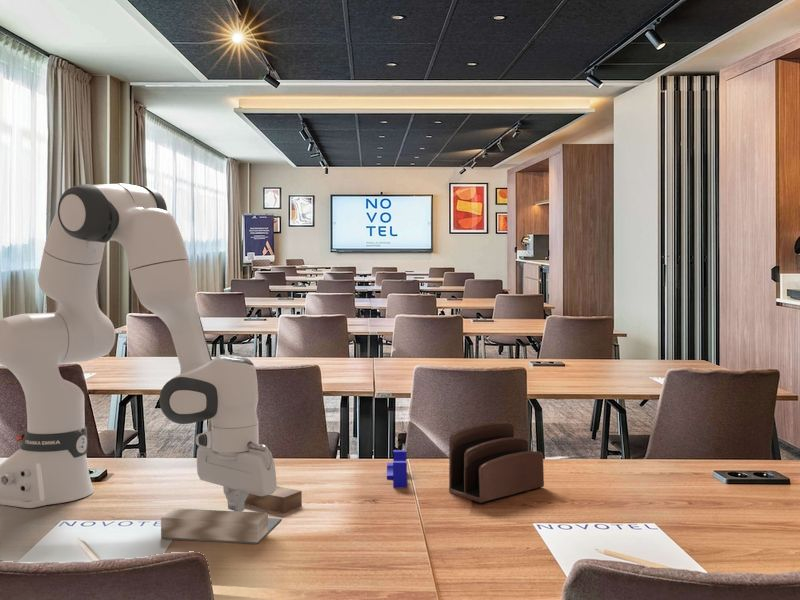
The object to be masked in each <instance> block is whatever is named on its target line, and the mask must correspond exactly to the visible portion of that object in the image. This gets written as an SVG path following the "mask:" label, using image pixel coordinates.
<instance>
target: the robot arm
mask: <svg viewBox="0 0 800 600" xmlns="http://www.w3.org/2000/svg"><path fill="white" fill-rule="evenodd" d="M48 229H49V230H48V233H47V236H46V238H45V242H44V243H45V244H44V248H43V252H42V256H41V262H40V266H39V272H38V276H37V281H38V282H37V283H38V286H39V289H40V290H41V291H42V293H43V294H44V295H45V296H47V297H48V298H50V299H51V300H53V301H55V302H56V303H58V305H57V309H56V311H54V312H36V313H35V312H33V313H19V314H15V315H11V316H7V317H3V318H0V365H1V366H3V367H5V368H6V369H7V370H9V371H10V372H11V373H12V374H13V375H14V376H15V378H16V379H17V381H18V382H19V384H20V386H21V388H22V390H23V394H24V399H25V406H26V407H25V408H26V419H27V427H26V428H27V430H26V431H24V432H23V433H22V434H19V435H15V438H17V439H16V440H15V442H19V441H21V443H20V445H19V448H18V450H16V451H15V452H14V453H13V454H12V455H10V456H9V457H8V458H6V459H5V460H4V461H3V462H2V463H0V505H2V506H9V507H10V506H11V507H18V508H24V509H33V508H39V507H42V506H47V505H55V504H56V505H57V504H62V503H68V502H73V501H77V500H79V499H80V500H81V499H82V498H83V499H84V498H86V497H88V496H90V495H91V494H93V493H94V492H95V489H94V485H93V483H92V479H91V475H90V471H89V466H88V465H89V464H88V459H87V457H88V456H87V451H88V450H87V449H88V427H86V424H85V422H86V420H85V419H86V418H85V416H86V415H85V412H86V411H85V394H84V392H83V390H82V389H81V388H80V387H79V386H78V385H77V384H75V383H73V382H71V381H68V379H67V380H66V379H64V377H62V375H61V373H60V369H59V365H60V364H71V363H80V362H81V363H82V362H83V363H84V362H88V361H92V360H96V359H99V358H102V357H104V356H108V354H109V353H110V352H111V351H112V349H113V347H114V346H115V342H116V329H115V327H114V323H113V322H112V320H111V319H110V318H109V317H108V316H107V315H106V314H105V313H104V312H103V311H102V310H101V308H100V306H99V304H98V299H97V286H98V281H99V276H100V275H99V274H100V270H101V266H102V262H103V256H104V251H105V247H106V243H108V242H110V241H114V242H115V241H116V242H117V243H118V244H120V246H122V247H123V249H124V252H125V255H126V259H127V265H128V269H129V275H130V278H131V284H132V286H133V289H134V291H135V294H136V296H137V298H138V300H139V303H140V304H141V305H142V307H144V308H145V309H146V310H147V311H150V312H151V313H152V314H154V315H156V316H157V317H158V318H159V319H160V320H161V321H162V322H163V323H164V324H165V325H166V327H167V328H168V330H169V332H170V336H171V339H172V342H173V346H174V349H175V353H176V355H177V359H178V362H179V363H178V364H179V368H180V373H179V374H178V375H176V376H174V377H172V378H171V379H170V380H168V381H167V382H166V383H165V384H164V385H163V387H162V388H161V391H160V393H159V397H158V398H159V407H160V410H161V412H162V413H163V416H165V417H166V418H167V419H168V420H169V421H171V422H172V423H175V424H179V425H191V424H195V423H199V422H203V421H209V422H211V430H208V431H204V432H202V433H198V434H197V435H196V437H195V443H196V445H197V446H198V447H197V450H196V474H197V476H198V478H199V480H201V481H202V482H206V483H211V484H213V485H218V486H220V487H223V488H222V490H223V494H224V496H225V498H226V500H227V510H228V511H241V512H245V509H246V508H245V505H246V504H245V500H246V498H247V496H248V494H249V493H250V494H254V495H257V496H265V495H269V494H272V493H274V491H275V490H276V486H278V485H277V473H276V466H275V460H274V457H273V453H272V452H271V450H270V449H269V448H268V446H267V445H265V444H260V443H259V441H260V440H259V418H258V415H257V407H258V402H259V386H258V384H259V383H258V376H257V370H256V366H255V364H254V363H253V362H252V360H250V359H248V358H246V357H244V356H240V355H234V354H219V355H216V356H214V358H212V355H211V352H210V350H209V349H210V348H209V346H208V345H209V344H208V342H207V338H206V334H205V331H204V327H203V324H202V320H201V317H200V314H199V311H198V310H199V309H198V304H197V298H196V294H195V286H194V281H193V275H192V270H191V269H192V268H191V265H190V260H189V257H188V251H187V249H186V245H185V242H184V239H183V236H182V234H181V231H180V228H179V226H178V224H177V222H176V219H175V218H174V216H173V215H172V214H171V212H169V211H168V207H167V203H166V200H165V198H164V197H163V195H162V194H161V193H160V192H159V191H158V190H156V189H154V188H152V187H148V186H146V185H142V184H137V185H136V184H135V185H134V184H129V183H128V184H127V183H121V182H120V183H116V182H113V183H112V182H110V183H101V184H98V183H97V184H91V183H89V184H88V183H84V184H79V185H75V186H72V187H70V188H69V187H68V188H67V189H66V190H65V191H64V192H63V193H62V194H61V196H60V198H59V200H58V205H57V209H56V212H55V214H54V216H53V218H52V222H51V224H50V226H49V228H48ZM236 495H237V496H236Z"/></svg>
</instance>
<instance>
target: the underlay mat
mask: <svg viewBox="0 0 800 600" xmlns="http://www.w3.org/2000/svg"><path fill="white" fill-rule="evenodd" d="M280 522H282V518H278V517H277V518H276V517H275V518H274V517H268V532H267V533H266V534H265V535H264V536H263V537H262V538H261V539H260V540H259V541H258V542H243V541H225V540H206V539H188V538H169V537H161V536H160V539H161V540H175V541H176V540H177V541H178V540H180V541H194V542H195V541H196V542H197V541H198V542H215V543H232V544H233V543H234V544H251V545H252V544H253V545H258V544H259V543H260V542H261V541H262V540H263V539H264V538H265V537H266V536H267V535H268V534H269V533H270V532H271V531H272V530H273V529H274V528H275V527H276V526H277V525H278V524H279V523H280Z"/></svg>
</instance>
